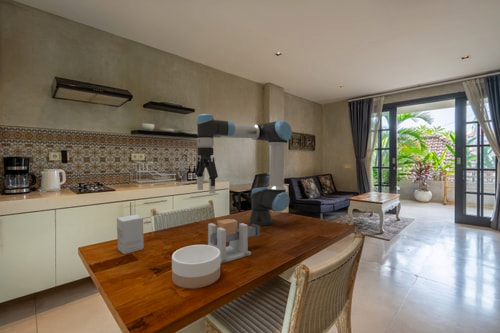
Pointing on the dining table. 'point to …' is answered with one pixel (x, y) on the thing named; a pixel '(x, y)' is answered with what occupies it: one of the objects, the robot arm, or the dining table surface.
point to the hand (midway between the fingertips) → (205, 191)
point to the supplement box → (130, 233)
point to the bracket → (230, 243)
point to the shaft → (237, 234)
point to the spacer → (227, 226)
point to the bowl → (195, 266)
